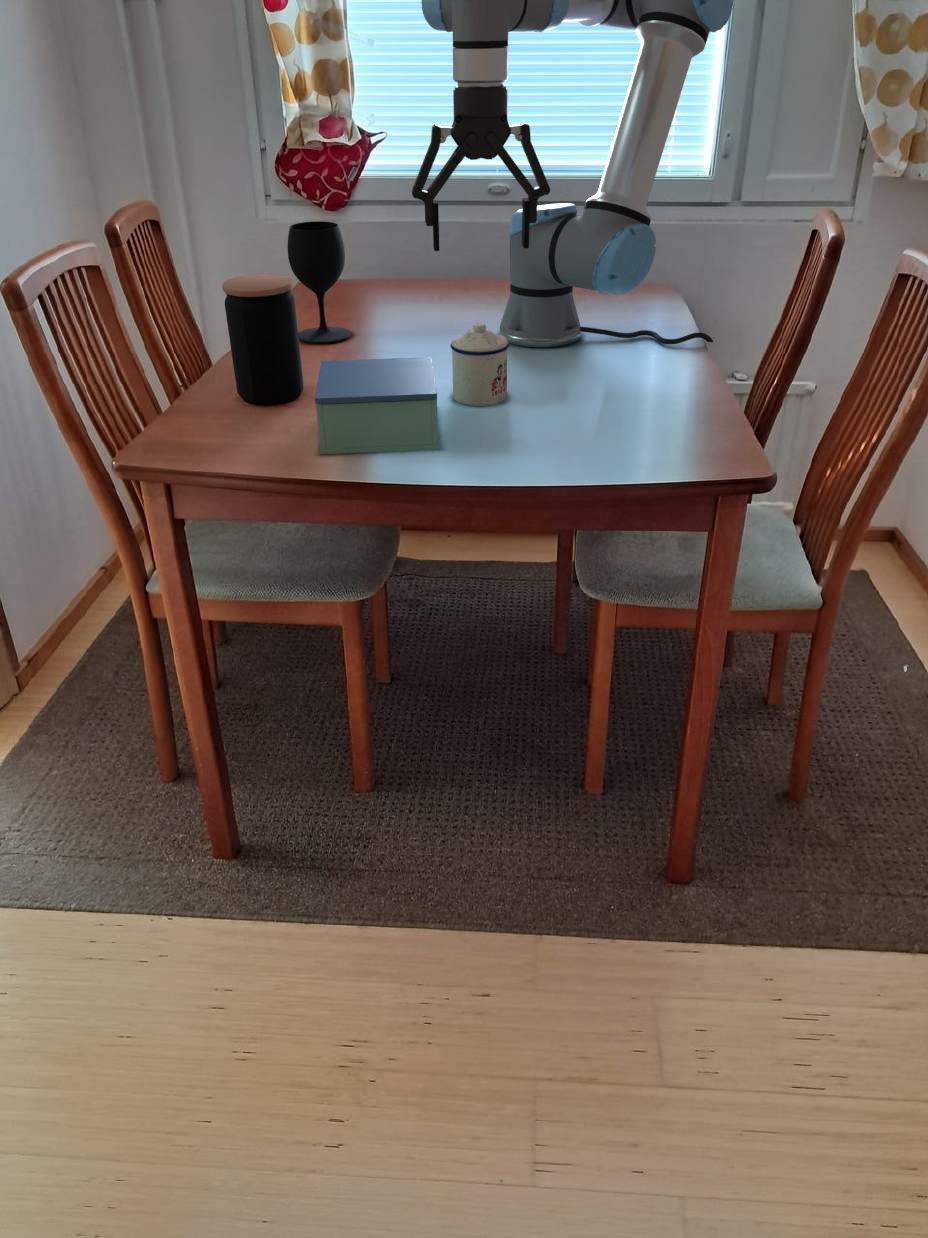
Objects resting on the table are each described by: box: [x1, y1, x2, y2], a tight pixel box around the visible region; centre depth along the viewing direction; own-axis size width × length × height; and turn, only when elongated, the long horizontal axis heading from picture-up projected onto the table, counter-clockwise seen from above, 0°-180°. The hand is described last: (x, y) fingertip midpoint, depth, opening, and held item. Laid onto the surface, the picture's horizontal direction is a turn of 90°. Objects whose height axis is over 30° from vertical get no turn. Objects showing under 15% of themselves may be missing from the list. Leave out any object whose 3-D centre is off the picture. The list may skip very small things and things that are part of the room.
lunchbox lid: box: [314, 356, 438, 405], centre depth 138 cm, size 17×17×1 cm
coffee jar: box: [221, 273, 305, 407], centre depth 151 cm, size 11×11×18 cm
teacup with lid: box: [450, 322, 510, 407], centre depth 152 cm, size 12×9×12 cm
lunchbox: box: [315, 398, 439, 455], centre depth 141 cm, size 17×17×7 cm
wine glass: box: [287, 220, 352, 345], centre depth 178 cm, size 10×10×20 cm
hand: (481, 247), depth 143 cm, fingers open, 13 cm apart
